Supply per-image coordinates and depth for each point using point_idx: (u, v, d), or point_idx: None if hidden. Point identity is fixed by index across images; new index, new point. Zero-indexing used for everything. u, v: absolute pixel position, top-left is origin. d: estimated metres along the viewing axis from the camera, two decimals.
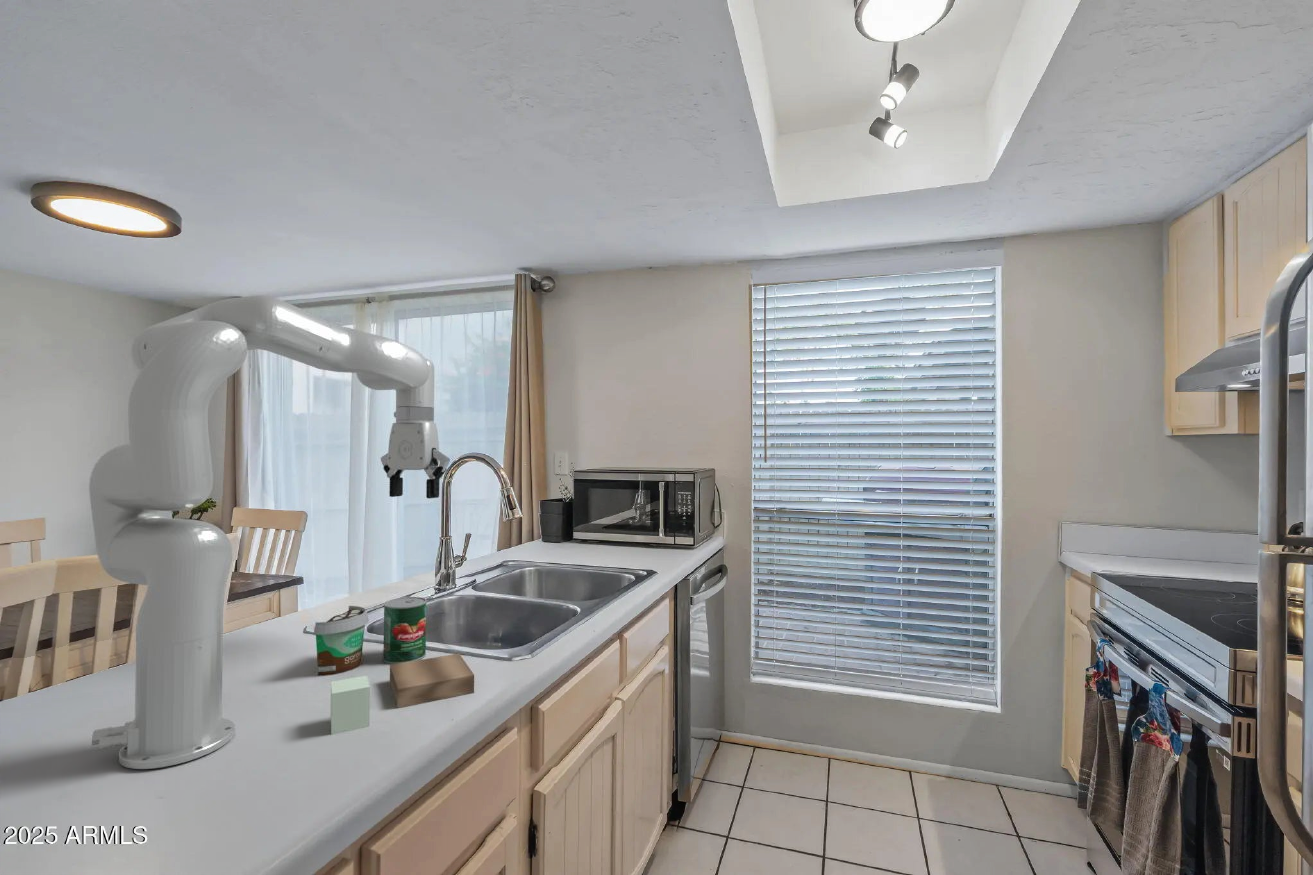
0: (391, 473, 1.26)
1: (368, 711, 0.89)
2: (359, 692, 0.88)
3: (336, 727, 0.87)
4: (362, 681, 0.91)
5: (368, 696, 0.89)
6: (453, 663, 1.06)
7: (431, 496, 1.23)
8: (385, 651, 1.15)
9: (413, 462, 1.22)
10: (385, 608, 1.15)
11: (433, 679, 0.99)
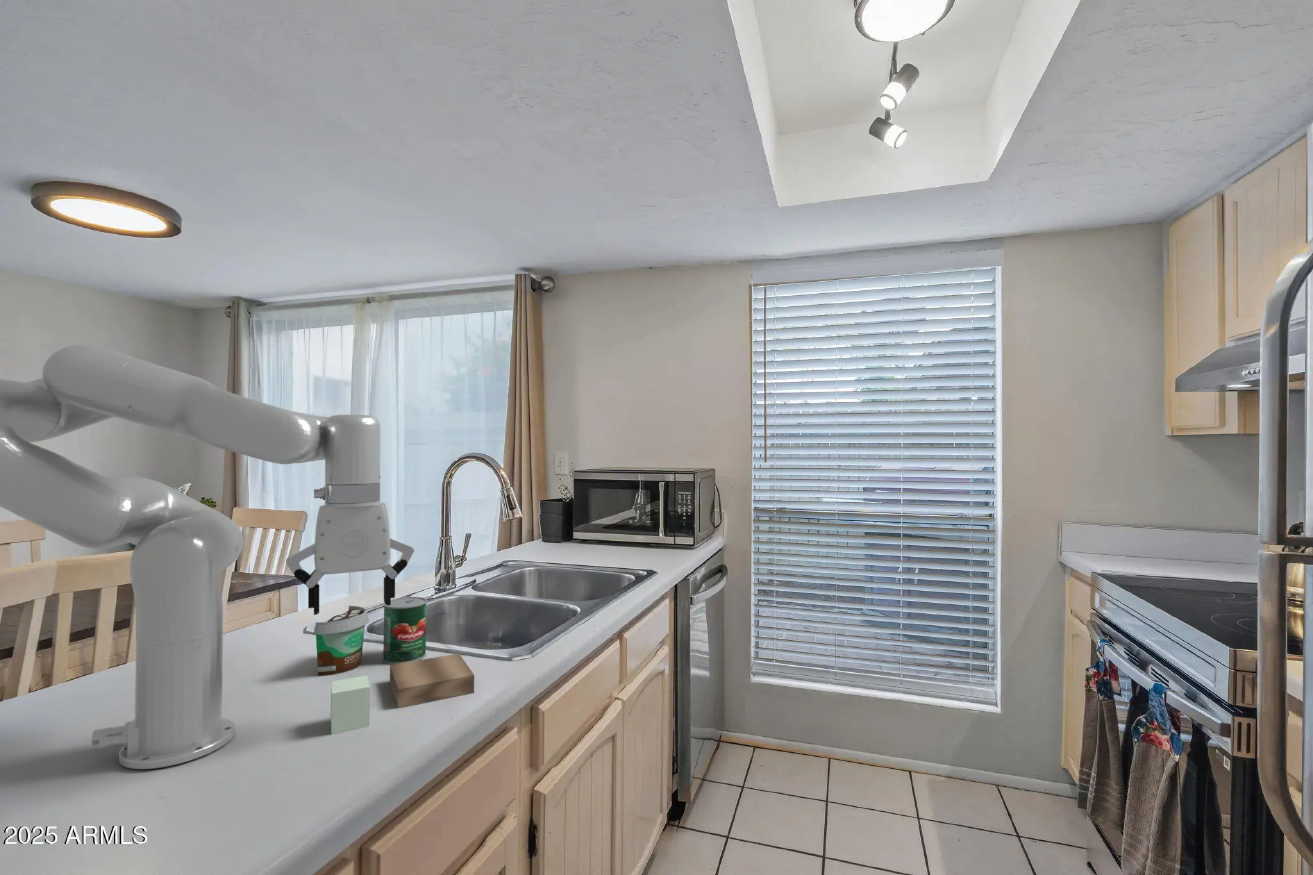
0: (315, 580, 0.86)
1: (368, 711, 0.89)
2: (359, 692, 0.88)
3: (336, 727, 0.87)
4: (362, 681, 0.91)
5: (368, 696, 0.89)
6: (453, 663, 1.06)
7: None
8: (385, 651, 1.15)
9: (370, 560, 0.89)
10: (385, 608, 1.15)
11: (433, 679, 0.99)
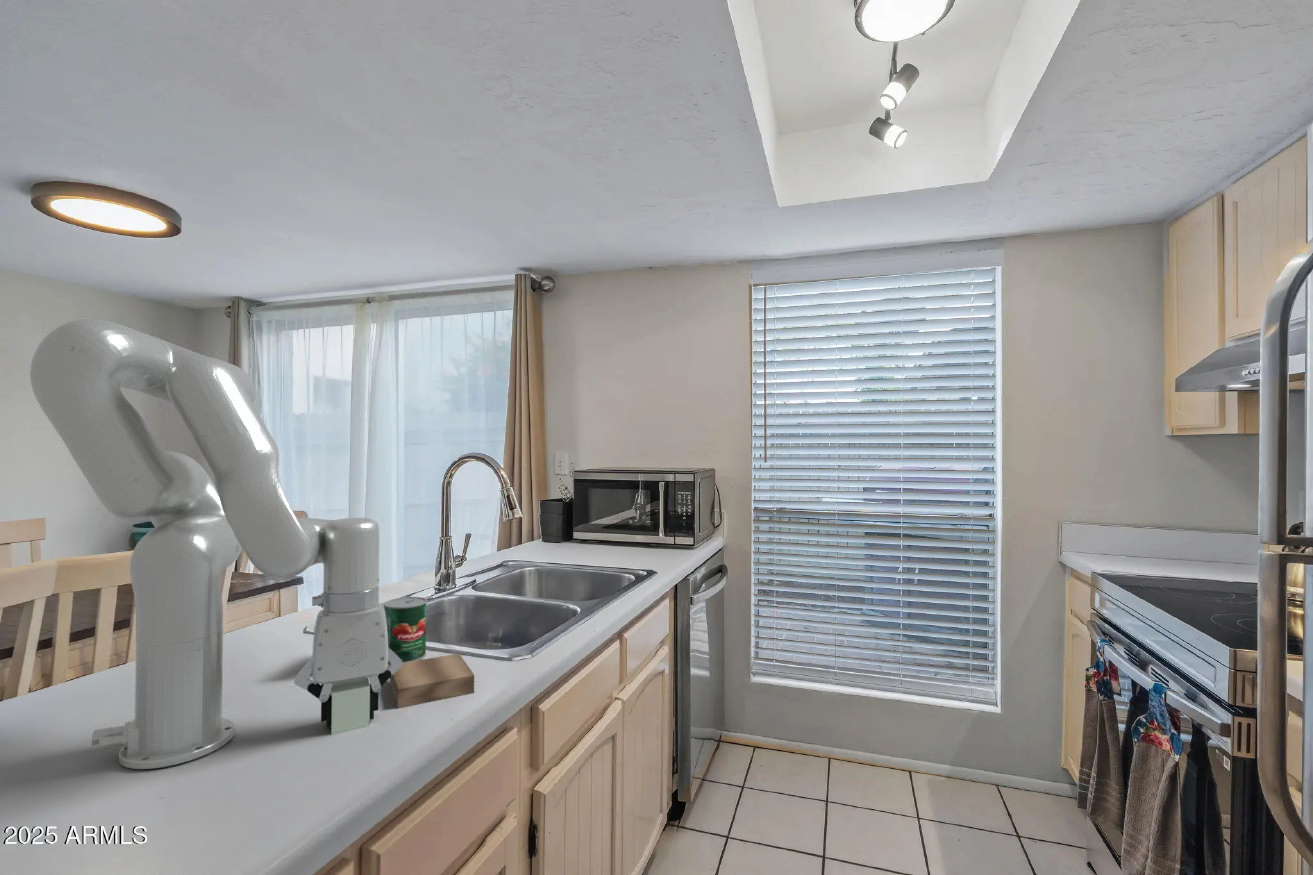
0: (327, 693, 0.87)
1: (368, 711, 0.89)
2: (359, 692, 0.88)
3: (336, 727, 0.87)
4: (362, 680, 0.91)
5: (368, 696, 0.89)
6: (453, 663, 1.06)
7: None
8: None
9: (368, 667, 0.89)
10: (385, 608, 1.15)
11: (433, 679, 0.99)
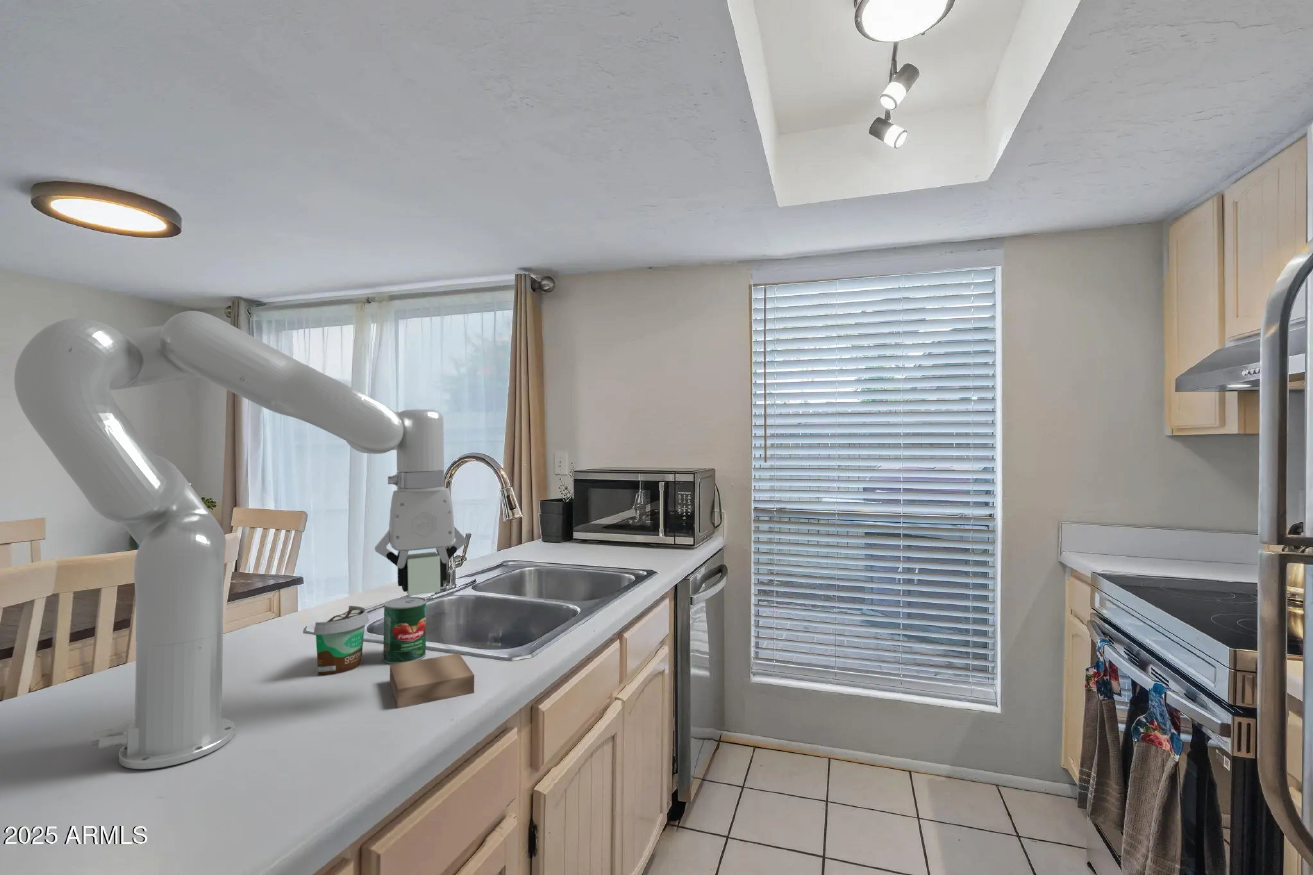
0: (403, 560, 0.99)
1: (439, 578, 1.00)
2: (431, 560, 1.00)
3: (412, 589, 0.98)
4: (432, 554, 1.02)
5: (438, 564, 1.00)
6: (453, 663, 1.06)
7: None
8: (385, 651, 1.15)
9: (438, 538, 1.00)
10: (385, 608, 1.15)
11: (433, 679, 0.99)
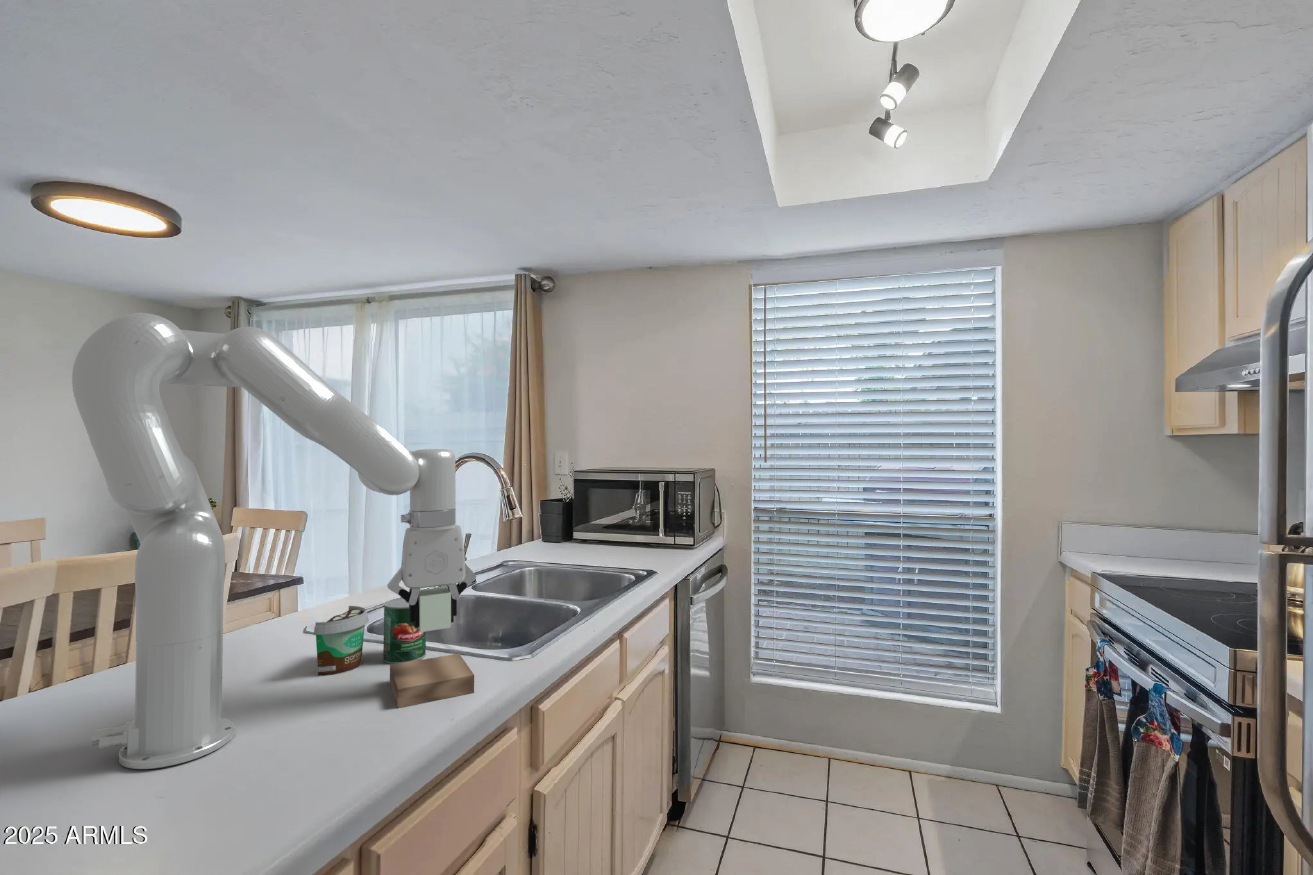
0: (415, 597, 1.01)
1: (450, 614, 1.02)
2: (442, 597, 1.02)
3: (424, 626, 1.00)
4: (443, 590, 1.05)
5: (449, 601, 1.02)
6: (453, 663, 1.06)
7: None
8: (385, 651, 1.15)
9: (449, 576, 1.02)
10: (385, 608, 1.15)
11: (433, 679, 0.99)
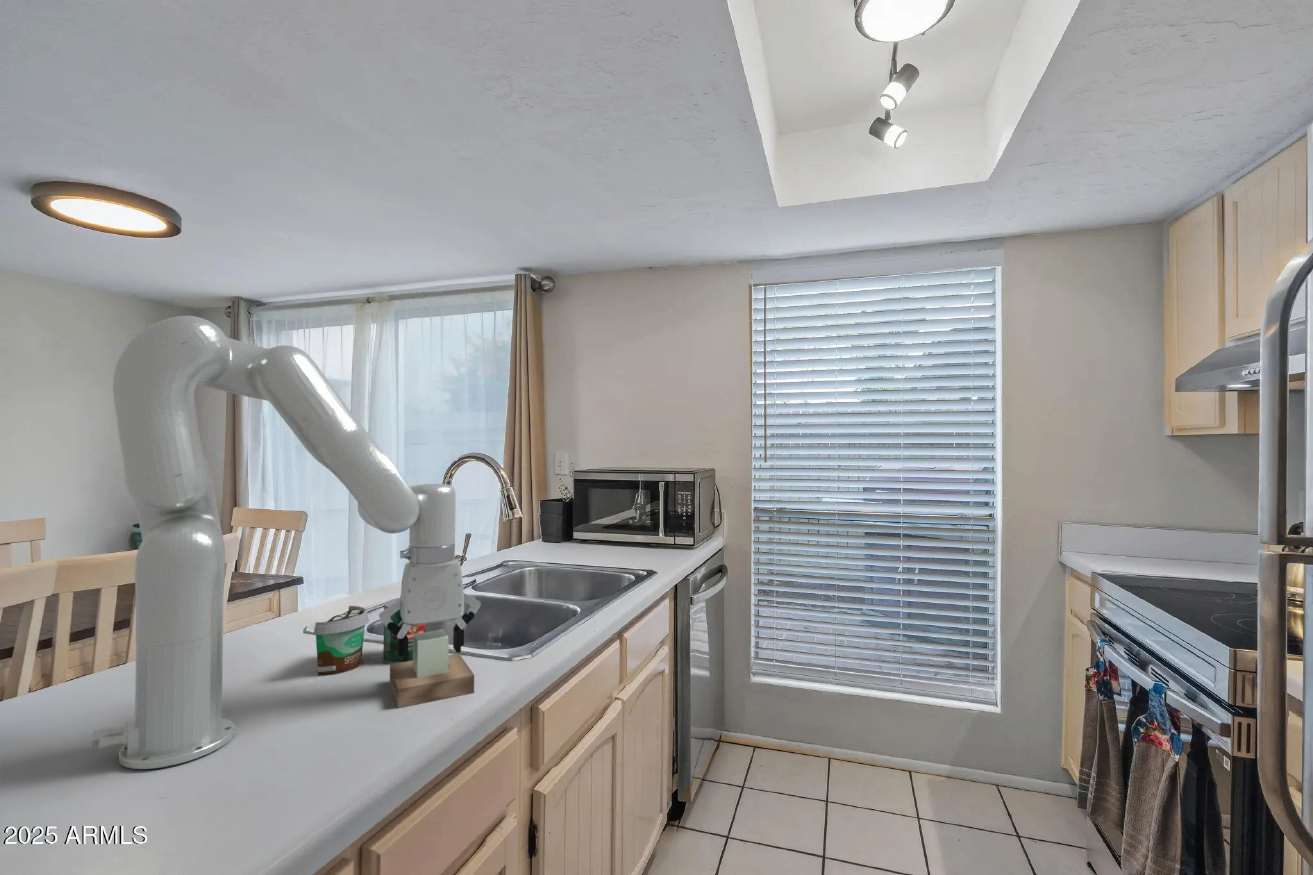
0: (405, 631, 1.00)
1: (447, 658, 1.02)
2: (440, 642, 1.02)
3: (421, 671, 1.00)
4: (441, 633, 1.04)
5: (447, 645, 1.02)
6: (453, 663, 1.06)
7: None
8: (385, 651, 1.15)
9: (448, 612, 1.02)
10: (385, 608, 1.15)
11: (433, 679, 0.99)
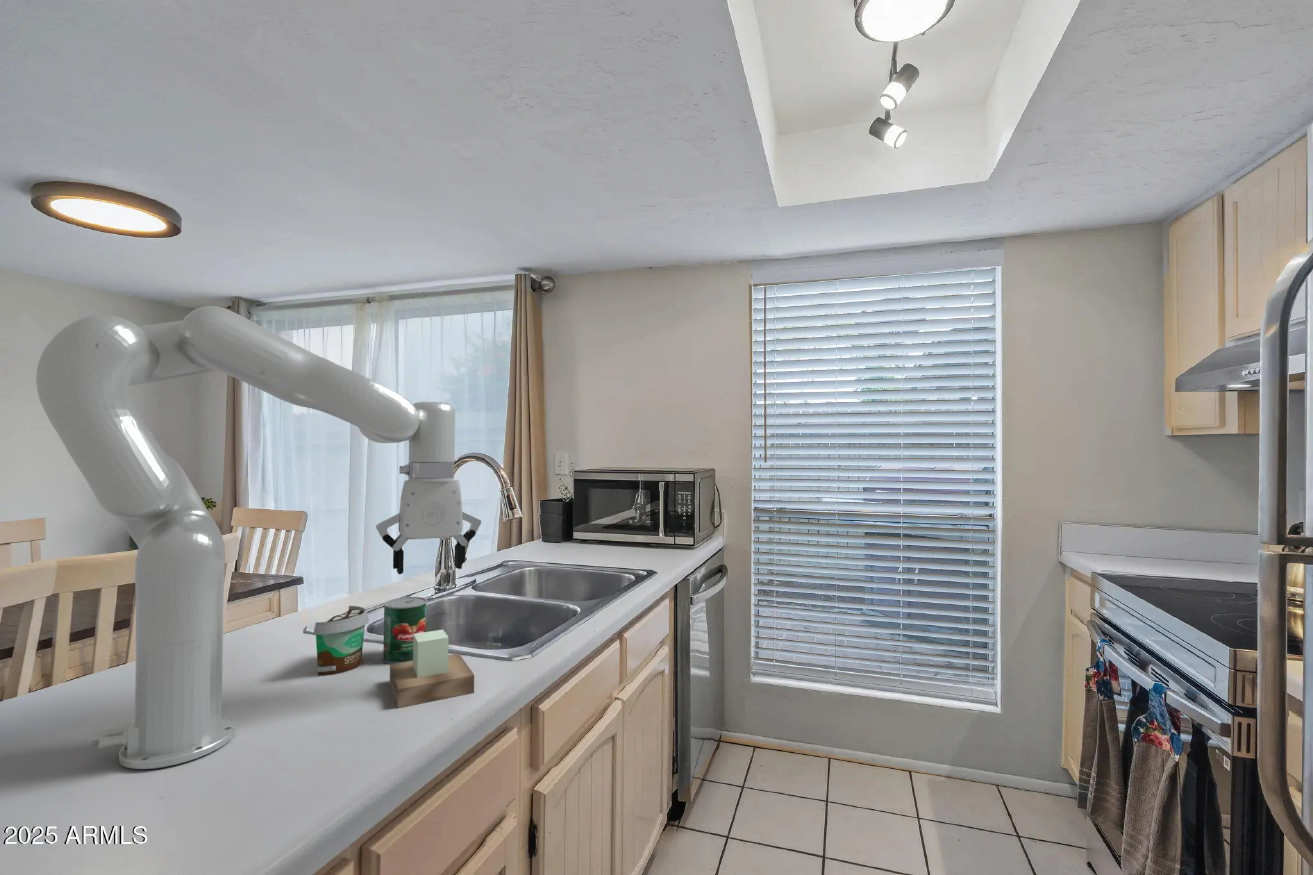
0: (400, 544, 1.00)
1: (447, 658, 1.02)
2: (440, 642, 1.02)
3: (421, 671, 1.00)
4: (441, 633, 1.04)
5: (447, 645, 1.02)
6: (453, 663, 1.06)
7: None
8: (385, 651, 1.15)
9: (446, 528, 1.02)
10: (385, 608, 1.15)
11: (433, 679, 0.99)
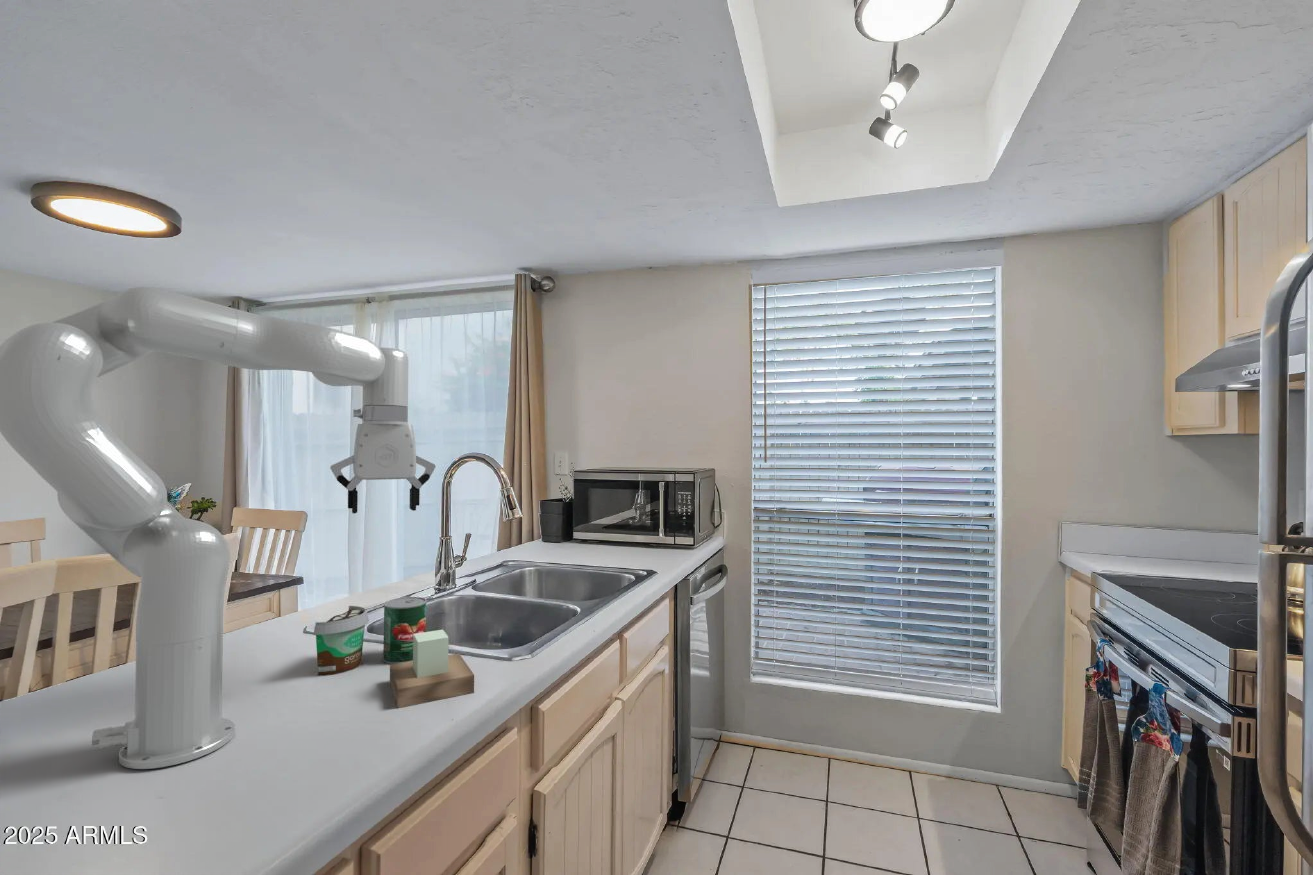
0: (354, 484, 1.03)
1: (447, 658, 1.02)
2: (440, 642, 1.02)
3: (421, 671, 1.00)
4: (441, 633, 1.04)
5: (447, 645, 1.02)
6: (453, 663, 1.06)
7: None
8: (385, 651, 1.15)
9: (400, 470, 1.06)
10: (385, 608, 1.15)
11: (433, 679, 0.99)
